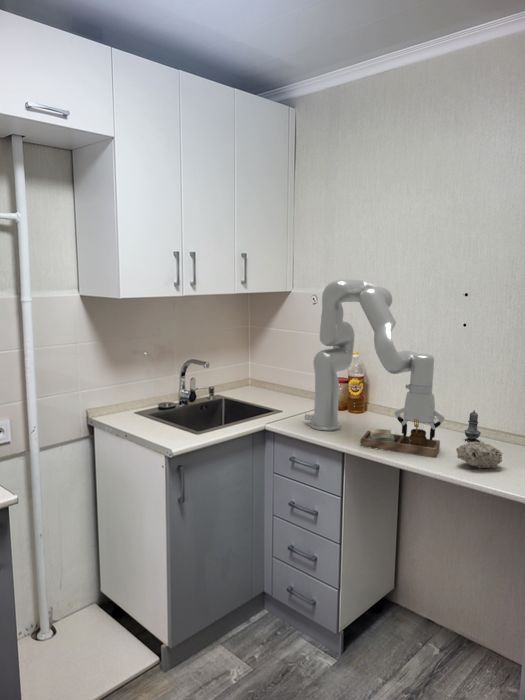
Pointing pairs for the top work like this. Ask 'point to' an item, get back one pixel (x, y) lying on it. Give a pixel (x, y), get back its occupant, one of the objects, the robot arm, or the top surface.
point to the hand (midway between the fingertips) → (417, 437)
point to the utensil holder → (418, 436)
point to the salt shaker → (472, 428)
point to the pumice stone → (480, 455)
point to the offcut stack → (381, 435)
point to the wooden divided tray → (402, 445)
